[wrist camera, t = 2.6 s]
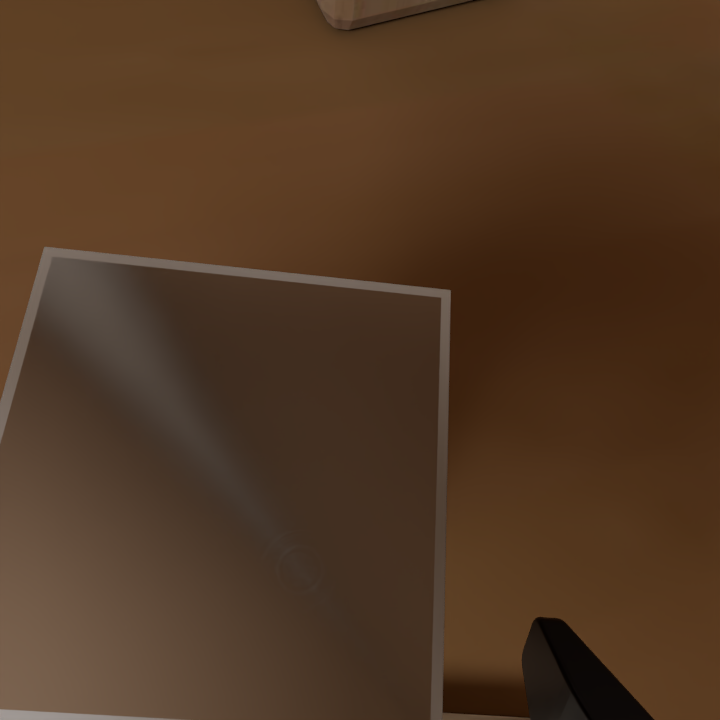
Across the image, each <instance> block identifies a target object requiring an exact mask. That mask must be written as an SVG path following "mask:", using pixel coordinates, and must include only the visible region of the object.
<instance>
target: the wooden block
mask: <svg viewBox="0 0 720 720" xmlns="http://www.w3.org/2000/svg"><path fill="white" fill-rule="evenodd" d="M316 1H317V3H318V5H319V7H320V9H321V11H322V13H323V15H324V17H325V19H326V21H327V22H328V23H329V24H331V25H332V26H333V27H334V28H337V29H345V30H351V29H355V28H359V27H363V26H367V25H372V24H376V23H380V22H384V21H388V20H392V19H396V18H401V17H405V16H409V15H413V14H417V13H421V12H426V11H430V10H434V9H438V8H442V7H446V6H451V5H455V4H459V3H463V2H467V1H471V0H316Z"/></svg>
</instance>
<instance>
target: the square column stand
mask: <svg viewBox="0 0 720 720" xmlns="http://www.w3.org/2000/svg"><path fill="white" fill-rule="evenodd" d="M450 305H451V290H445V289H436V288H426V287H417V286H407V285H398V284H389V283H379V282H370V281H361V280H351V279H342V278H332V277H323V276H314V275H304V274H295V273H285V272H276V271H267V270H257V269H248V268H239V267H229V266H220V265H210V264H201V263H192V262H182V261H173V260H164V259H154V258H145V257H135V256H126V255H117V254H107V253H98V252H88V251H79V250H70V249H60V248H51V247H44V250H43V254H42V257H41V261H40V264H39V268H38V271H37V275H36V278H35V282H34V285H33V289H32V293H31V296H30V300H29V303H28V307H27V310H26V314H25V317H24V321H23V324H22V328H21V331H20V335H19V338H18V342H17V345H16V349H15V352H14V356H13V359H12V363H11V367H10V370H9V374H8V377H7V381H6V384H5V388H4V391H3V395H2V398H1V402H0V720H442V711H443V660H444V610H445V559H446V508H447V458H448V407H449V356H450Z"/></svg>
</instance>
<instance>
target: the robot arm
mask: <svg viewBox="0 0 720 720" xmlns="http://www.w3.org/2000/svg"><path fill="white" fill-rule="evenodd" d="M522 669H523V675H524V682H525V688H526V695H527V701H528V708H529V714H530V720H654V719H653V718H652V717H651V716H650V714H649V713H648V712H647V711H646V710H645V709H644V708H643V707H642V706H641V705H640V703H639V702H638V701H637V700H636V699H635V698H634V697H633V696H632V695H631V694H630V693H629V691H628V690H627V689H626V688H625V687H624V686H623V685H622V684H621V683H620V682H619V681H618V679H617V678H616V677H615V676H614V675H613V674H612V673H611V672H610V671H609V670H608V669H607V667H606V666H605V665H604V664H603V663H602V662H601V661H600V660H599V659H598V658H597V656H596V655H595V654H594V653H593V652H592V651H591V650H590V649H589V648H588V647H587V646H586V644H585V643H584V642H583V641H582V640H581V639H580V638H579V637H578V636H577V635H576V634H575V632H574V631H573V630H572V629H571V628H570V627H569V626H568V625H567V624H566V623H565V622H564V621H563V620H561V619H558V618H547V617H537V618H536V619H535V620H534V621H533V623H532V626H531V629H530V632H529V635H528V638H527V641H526V644H525V646H524V649H523V654H522Z"/></svg>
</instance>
